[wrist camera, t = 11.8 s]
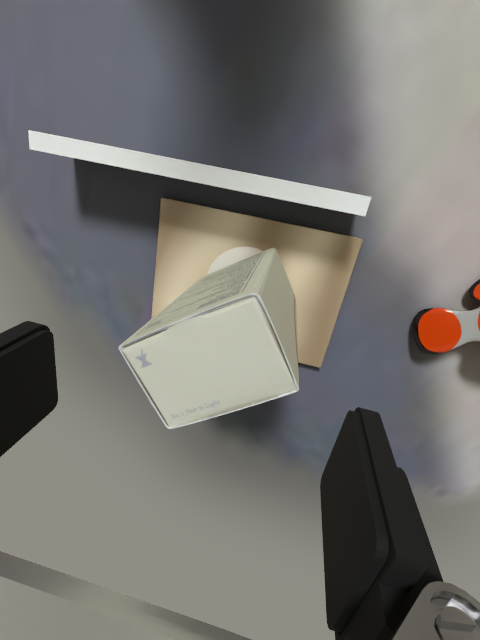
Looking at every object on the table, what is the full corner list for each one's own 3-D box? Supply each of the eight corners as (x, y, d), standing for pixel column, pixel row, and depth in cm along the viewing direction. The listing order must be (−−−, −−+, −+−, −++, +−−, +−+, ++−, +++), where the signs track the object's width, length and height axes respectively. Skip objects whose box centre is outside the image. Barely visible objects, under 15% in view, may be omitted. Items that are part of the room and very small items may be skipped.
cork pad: (361, 238, 22) (362, 239, 21) (320, 364, 25) (320, 368, 25) (164, 197, 23) (160, 197, 22) (154, 323, 27) (150, 327, 26)
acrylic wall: (358, 196, 21) (371, 196, 17) (353, 212, 21) (365, 216, 17) (72, 140, 22) (28, 130, 19) (72, 156, 23) (29, 149, 19)
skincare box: (223, 327, 25) (164, 435, 14) (198, 275, 24) (110, 348, 12) (300, 299, 23) (303, 397, 12) (277, 241, 22) (257, 290, 11)
